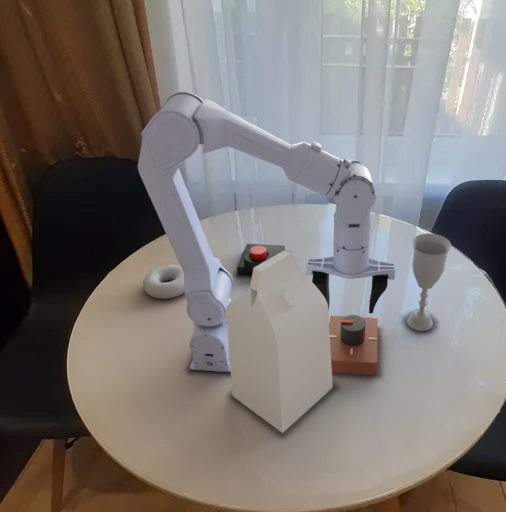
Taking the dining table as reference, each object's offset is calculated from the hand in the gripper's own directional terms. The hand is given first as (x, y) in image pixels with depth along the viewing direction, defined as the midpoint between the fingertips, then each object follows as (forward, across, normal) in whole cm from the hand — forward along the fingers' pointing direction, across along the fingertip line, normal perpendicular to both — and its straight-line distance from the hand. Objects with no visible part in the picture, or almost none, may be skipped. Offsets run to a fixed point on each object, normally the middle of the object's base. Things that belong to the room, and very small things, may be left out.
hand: (348, 308), depth 84 cm
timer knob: (+6, -1, +1) cm, 6 cm away
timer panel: (+9, -1, +1) cm, 9 cm away
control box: (+9, +21, -26) cm, 35 cm away
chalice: (+9, -14, -8) cm, 19 cm away
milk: (+9, +10, +12) cm, 18 cm away
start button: (+6, +21, -24) cm, 32 cm away
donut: (+9, +39, -15) cm, 43 cm away
